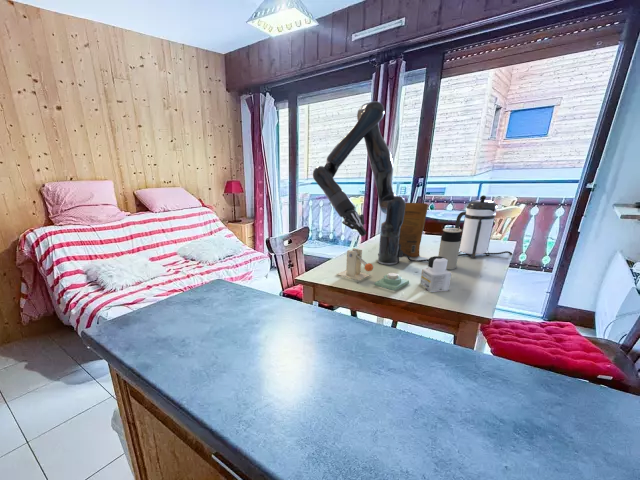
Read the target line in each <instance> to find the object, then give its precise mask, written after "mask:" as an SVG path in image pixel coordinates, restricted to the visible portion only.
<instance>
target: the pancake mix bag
mask: <svg viewBox="0 0 640 480" xmlns="http://www.w3.org/2000/svg"><path fill="white" fill-rule="evenodd" d="M405 203H406V209H405V215H404V221H403V224H402V226H401V232H400V242H399V244H401V249H400V250H402V251H403V253H405V254H407V255H408V256H409V258H418V257H420V256H421V255H420V249H421V242H422V238H423V232H424V229H425V225H426V218H427V214H428V208H429V204H428V203H424V202H405ZM404 256H405V255H403V257H404ZM405 257H406V256H405Z"/></svg>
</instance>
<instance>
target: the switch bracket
mask: <svg viewBox="0 0 640 480" xmlns="http://www.w3.org/2000/svg"><path fill="white" fill-rule="evenodd" d="M353 250H356V251H357V252H358V253H359V255H358V256H359V257H361V258H362V259H363V249H359V248H352V250H349V249H348V250H347V251H346V267H345V270H342V271H341V272H338V273H336V275H337V276H340V277H344V278H347V279H351V280H355V281H361V280H364V279H366V278H368V277H370V276H371V274H369V273H365V272H362V263H361V262H360V261H359V260H358V259H357V258H356V256H357V252H355V251H353Z"/></svg>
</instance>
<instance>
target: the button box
mask: <svg viewBox="0 0 640 480" xmlns="http://www.w3.org/2000/svg"><path fill="white" fill-rule="evenodd" d="M387 276H388V274H384V276H383V278H381V279H379V280H377V281H375V282H374V286H378V287H381V288H385V289H388V290H391V291H397V290H399V289H400V288H402V287H404V286H406V285H408V284H409V283H410V280H409V279H405V278H402V276H400V275H398V279H388V278H387Z"/></svg>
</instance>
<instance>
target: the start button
mask: <svg viewBox="0 0 640 480" xmlns="http://www.w3.org/2000/svg"><path fill="white" fill-rule="evenodd" d="M387 275H388V276H387V278H388V279H398V276H399V274H398V273H396V272H388V273H387Z"/></svg>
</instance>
